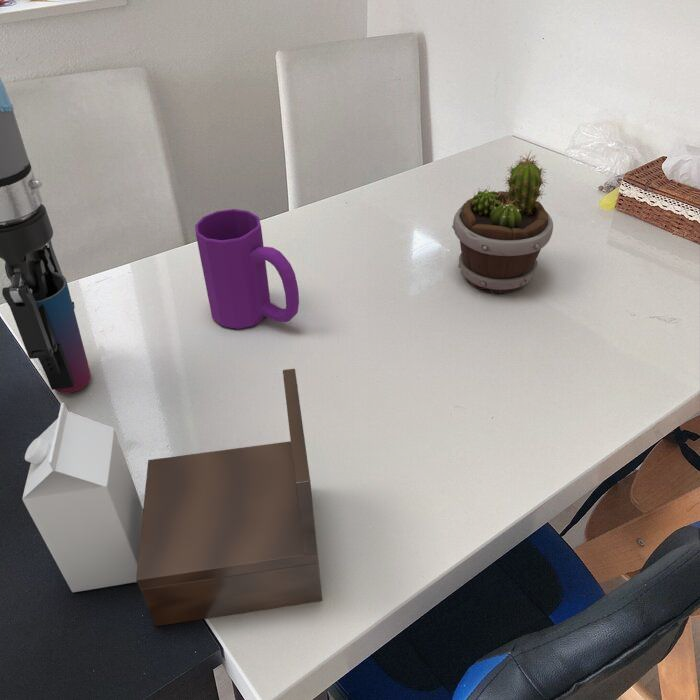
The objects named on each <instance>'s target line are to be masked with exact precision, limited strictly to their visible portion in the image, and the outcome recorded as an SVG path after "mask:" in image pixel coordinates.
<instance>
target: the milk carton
mask: <svg viewBox="0 0 700 700" xmlns="http://www.w3.org/2000/svg"><path fill="white" fill-rule="evenodd" d="M58 412H59V413H58V415H57V416H58V417H57V419H55V420H54V421H53V422H52V424H51V425H49V426H48V427H47V429H45V430H44V431H43V432H42V433H41V434H40V435H39V436H38V437H36V438H35V439H34V440H33V441H32V442H31V443H30V444H29V446H28V447H27V449H26V452H25V454H24V460H25V461H26V462H28V463H30V465H29V468H28V469H29V470H28V473H27V476H26V477H27V478H26V481H25V485H24V490H23V494H22V501H23V504H24V506H25V508H26V510H27V512H28V514H29V515H30V517H31V519H32V521H33V523H34V524H35V526H36V528H37V530H38V532H39V535H40V536H41V537H42V540H43V541H44V543H45V545H46V547H47V549H48V550H49V552H50V554H51V556H52V558H53V560H54V561H55V563H56V565H57V567H58V569H59V572H61V574H62V577H63V578H64V580H65V582H66V584H67V586H68V587H69V589H70V591H71V592H72V593H78V592H84V591H91V590H97V589H103V588H109V587H115V586H121V585H127V584H133V583H137V581H136V577H137V567H138V557H139V547H140V537H141V527H142V517H143V508H144V506H143V505H142V502H141V498H140V497H139V494H138V491H137V489H136V485H135V483H134V480H133V477H132V474H131V471H130V469H129V466H128V462H127V460H126V458H125V455H124V452H123V450H122V449H123V448H122V446H121V444H120V441H119V439H118V436H117V433H116V431H115V427H112V426H110V425H108V424H105V423H102V422H99V421H96V420H93V419H91V418H88V417H85V416H83V415H79V414H76V413H75V412H71V411H70V410H69V411H68V409H67V407H66V404H65V402H61V403H60V406H59V411H58Z"/></svg>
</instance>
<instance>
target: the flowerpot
mask: <svg viewBox="0 0 700 700" xmlns="http://www.w3.org/2000/svg"><path fill="white" fill-rule="evenodd" d="M532 151H533V150H530V152H529V154H528V155H527V154H525V156H526V158H525V157H523V156H522V155H519V159H520V160H519V159H517V160H515V162H514V164H515V165H514V164H513V163H512V164H511V166H510V167H506V168H507V170H506V171H505V172H509V173H507V175H505V177H504V178H505V180H503V179H502V181H505V183H504V186H503V187H504V188H508V189H505V190H503V191H502V190H499V191H495V190H491V189H490V188H491V187H490V185H489V186H486V188H485V189H484V188H482V190H481V188H478V190H477V193H473V197H471V198H469V199H467V200H466V201H465V202H464V203H463V205H461V206H460V207H459V208H458V210H457V211H456V212H455V214H454V216H453V220H452V226H451V228H452V229H453V231H454V234H455V236H456V237H457V239H458V240H459V245H460V251H461V252H460V254H459V256H458V265H457V267H458V269H460V272H461V274H462V276H463V277H464V278H465V280H466V281H467V283H469V284H470V285H472V286H473V287H474V288H476V289H478V290H485V289H488V290H489V291H490V293H492V294H499V293H505V294H507V293H513V292H515V291H519V290H521V289H522V288H524V286H525V285H527V284H528V283H529V282H530V281H531V280H532V278H533V277H534V275H535V273H536V270H537V268H538V260H537V259H538V257H539V254H540V253H541V250H542V249H543V248H545V246H547V244H548V243H549V242H550V240H551V238H552V235H553V231H554V221H553V219H552V217H551V216H550V213H548V212H547V211H546V209H545V207H544V206H543V204H542V203H541V202H540V201H541V200H543V197H542V196H546V195H547V194H546V193H545V194H544V190H542V189H543V187H546V186H545V184H547V185H549V183H547V180H546V177H544V174H546V168H543V167H541V164H539V163H540V162H539V161H537V160H535V158H536V157H537V155H536V154H534V155H532V156H531V153H532ZM530 156H531V157H530ZM529 157H530V158H529ZM544 178H545V179H544ZM540 188H541V189H540ZM475 190H476V189H474V191H473V192H475ZM490 190H491V191H490Z"/></svg>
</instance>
